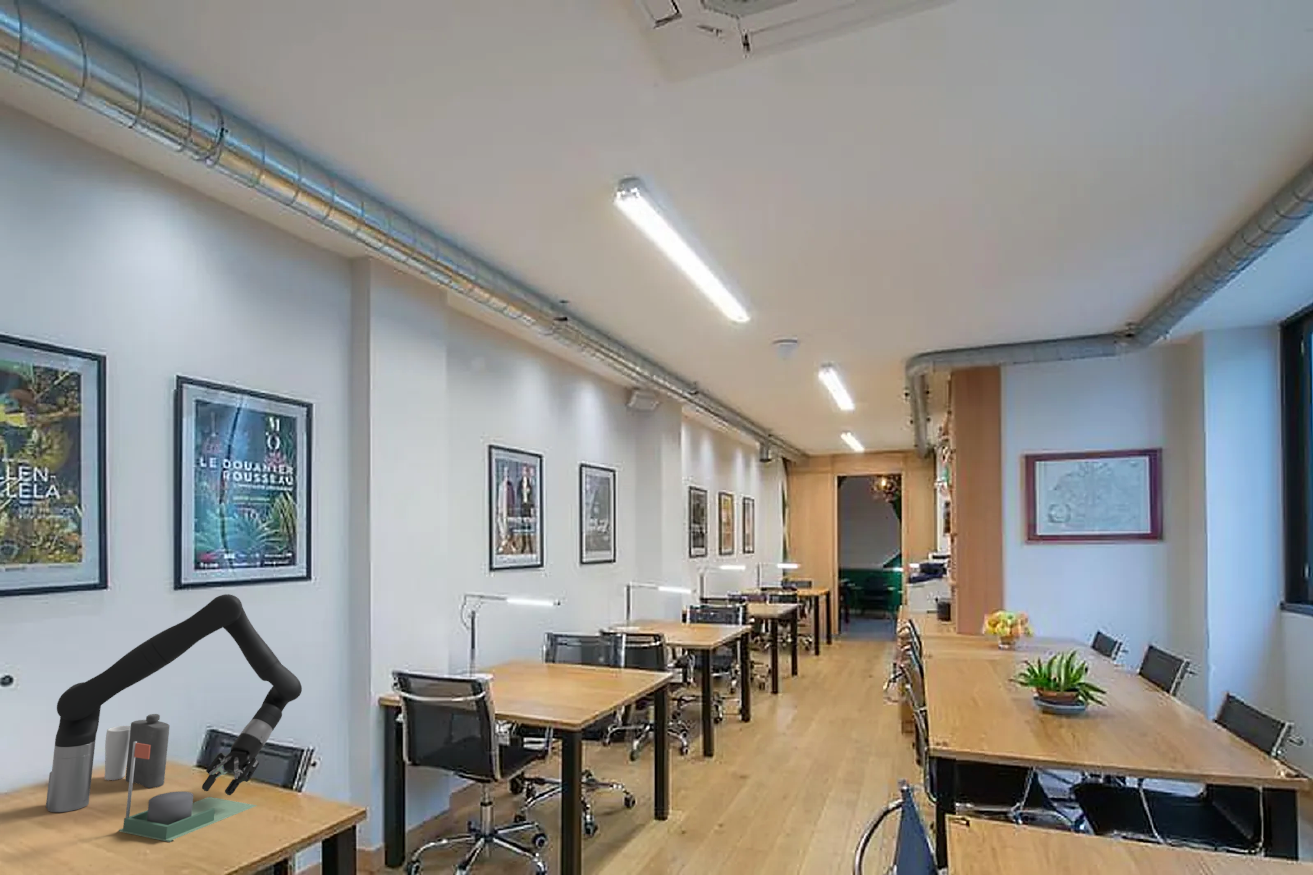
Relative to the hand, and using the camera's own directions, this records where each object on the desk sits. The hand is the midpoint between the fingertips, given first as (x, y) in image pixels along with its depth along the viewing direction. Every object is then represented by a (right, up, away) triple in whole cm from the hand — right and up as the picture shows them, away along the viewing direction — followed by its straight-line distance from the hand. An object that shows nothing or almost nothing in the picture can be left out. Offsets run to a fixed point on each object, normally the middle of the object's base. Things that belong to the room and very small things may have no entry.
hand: (215, 791), depth 217 cm
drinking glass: (-45, -7, +24) cm, 51 cm away
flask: (-33, -7, +21) cm, 40 cm away
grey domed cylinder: (-5, -3, -13) cm, 14 cm away
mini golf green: (-3, -4, -7) cm, 9 cm away
